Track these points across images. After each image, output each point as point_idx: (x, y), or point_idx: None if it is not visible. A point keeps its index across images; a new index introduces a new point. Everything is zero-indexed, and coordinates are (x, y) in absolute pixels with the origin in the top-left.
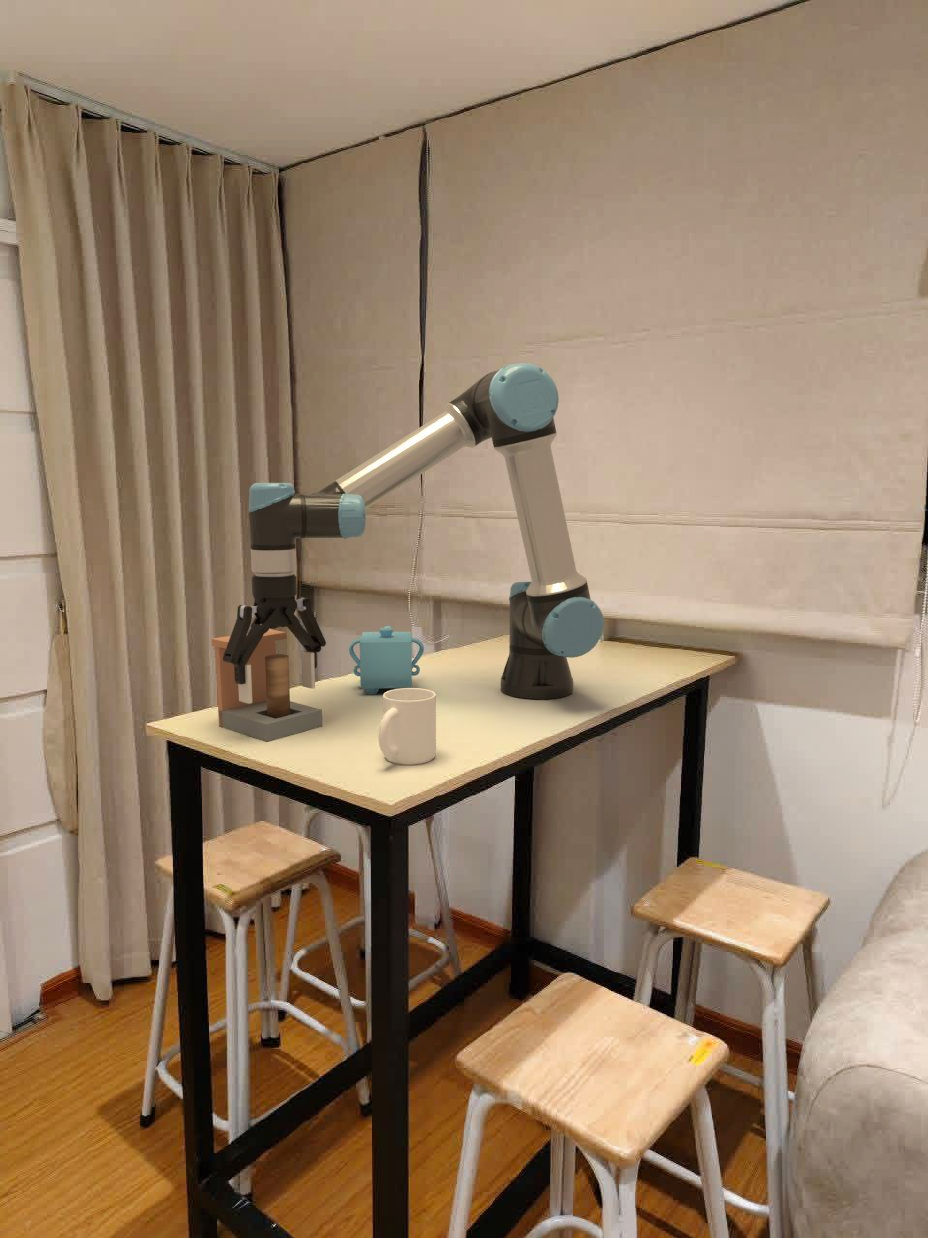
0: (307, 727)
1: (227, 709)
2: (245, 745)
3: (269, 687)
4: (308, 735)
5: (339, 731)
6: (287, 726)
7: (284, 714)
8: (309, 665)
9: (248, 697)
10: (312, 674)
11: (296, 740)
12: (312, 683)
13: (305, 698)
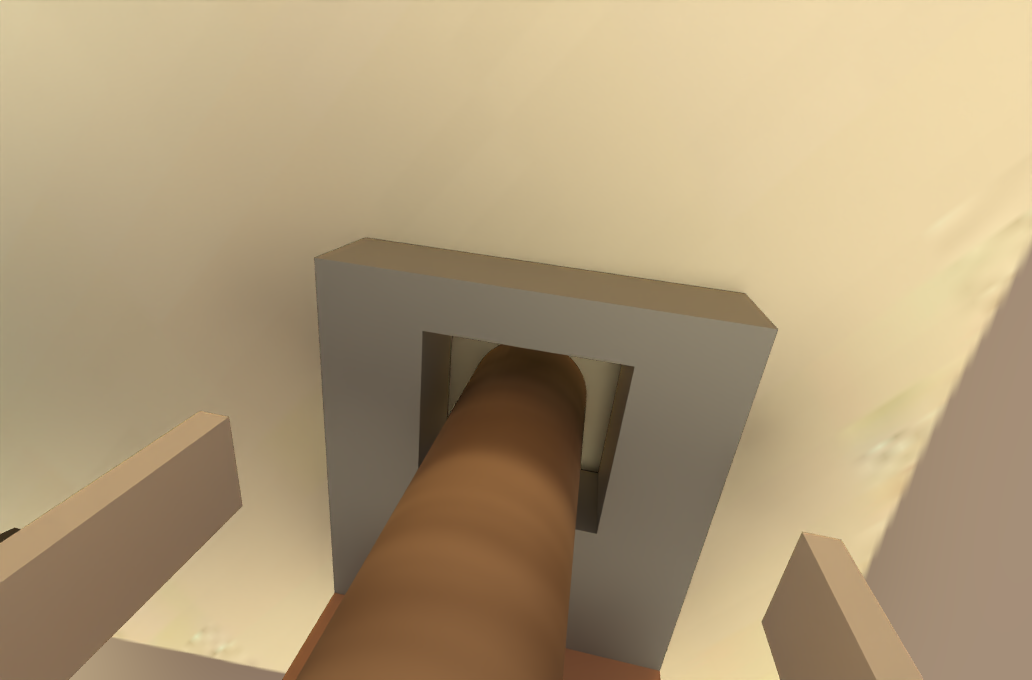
0: (460, 256)
1: (626, 664)
2: (854, 349)
3: (569, 590)
4: (527, 181)
5: (365, 78)
6: (600, 286)
7: (529, 383)
8: (44, 579)
9: (866, 583)
10: (119, 485)
11: (639, 170)
12: (190, 438)
13: None
